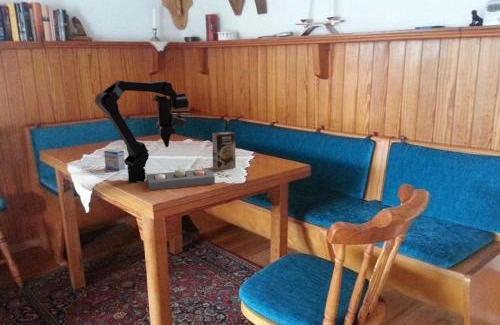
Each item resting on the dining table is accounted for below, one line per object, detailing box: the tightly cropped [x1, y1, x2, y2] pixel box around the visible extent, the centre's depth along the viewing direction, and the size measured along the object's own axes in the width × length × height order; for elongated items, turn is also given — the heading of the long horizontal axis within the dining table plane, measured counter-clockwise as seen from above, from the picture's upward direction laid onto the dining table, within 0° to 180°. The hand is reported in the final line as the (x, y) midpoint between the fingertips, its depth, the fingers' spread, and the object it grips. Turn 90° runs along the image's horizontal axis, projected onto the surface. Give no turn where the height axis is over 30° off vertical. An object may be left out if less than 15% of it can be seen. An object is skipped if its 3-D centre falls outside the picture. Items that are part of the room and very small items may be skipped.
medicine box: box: [103, 149, 126, 172], centre depth 195 cm, size 8×4×9 cm, turn 68°
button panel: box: [145, 168, 216, 191], centre depth 175 cm, size 26×12×3 cm, turn 108°
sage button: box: [174, 169, 186, 178], centre depth 174 cm, size 4×4×3 cm
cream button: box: [155, 173, 165, 180], centre depth 172 cm, size 4×4×3 cm
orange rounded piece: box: [195, 171, 204, 176], centre depth 177 cm, size 4×4×3 cm
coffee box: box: [211, 131, 236, 171], centre depth 196 cm, size 9×6×16 cm
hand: (167, 146), depth 185 cm, fingers closed
